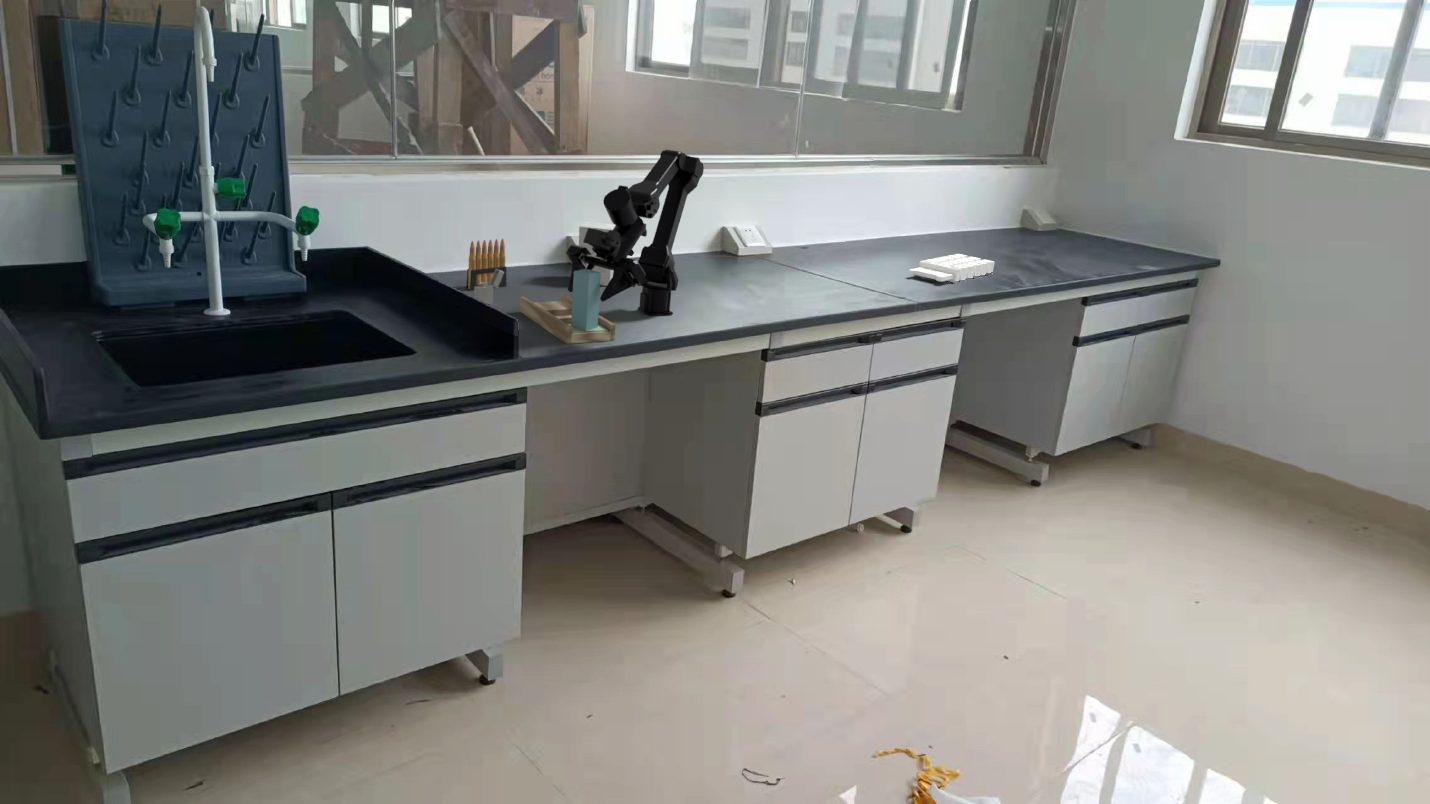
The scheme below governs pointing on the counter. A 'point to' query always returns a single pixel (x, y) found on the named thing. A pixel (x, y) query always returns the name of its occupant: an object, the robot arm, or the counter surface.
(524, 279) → the counter surface
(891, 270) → the counter surface
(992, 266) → the organizer
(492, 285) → the lighter
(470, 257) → the ammunition clip
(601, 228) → the supplement box
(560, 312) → the wooden slatted tray
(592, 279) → the teal block
